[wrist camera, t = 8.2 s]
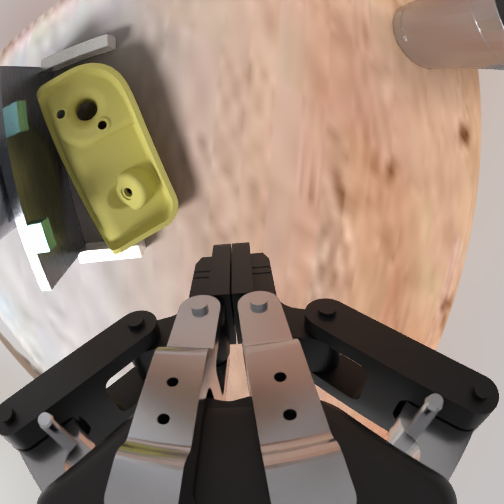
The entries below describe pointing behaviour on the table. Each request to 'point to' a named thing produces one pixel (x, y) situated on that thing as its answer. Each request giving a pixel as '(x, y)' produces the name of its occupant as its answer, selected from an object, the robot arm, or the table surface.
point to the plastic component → (109, 154)
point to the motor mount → (43, 172)
